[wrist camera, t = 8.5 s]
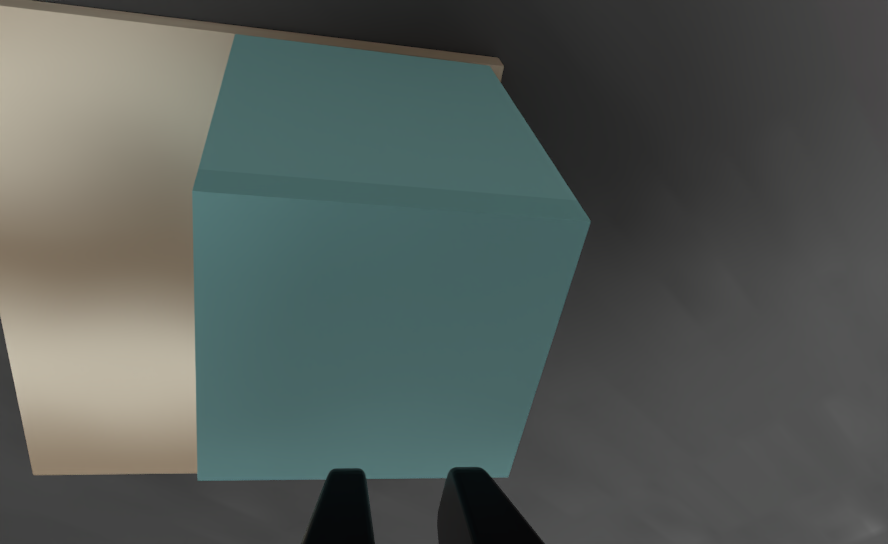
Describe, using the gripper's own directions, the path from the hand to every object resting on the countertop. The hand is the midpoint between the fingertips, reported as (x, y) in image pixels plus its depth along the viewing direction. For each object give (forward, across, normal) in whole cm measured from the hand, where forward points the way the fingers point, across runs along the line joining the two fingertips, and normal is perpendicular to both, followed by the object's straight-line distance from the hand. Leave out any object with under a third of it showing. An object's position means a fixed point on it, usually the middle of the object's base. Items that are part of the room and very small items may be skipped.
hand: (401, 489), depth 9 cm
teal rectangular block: (+9, 0, 0) cm, 9 cm away
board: (+10, +2, +4) cm, 11 cm away
